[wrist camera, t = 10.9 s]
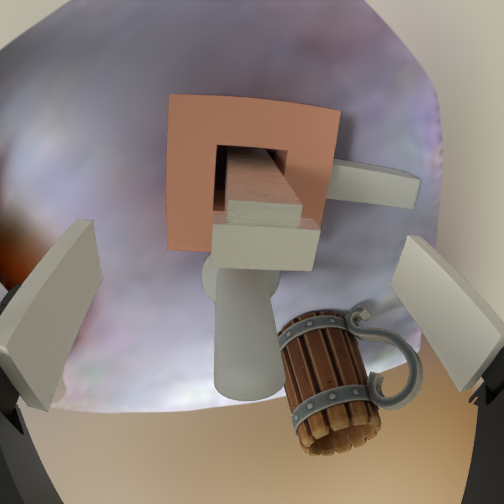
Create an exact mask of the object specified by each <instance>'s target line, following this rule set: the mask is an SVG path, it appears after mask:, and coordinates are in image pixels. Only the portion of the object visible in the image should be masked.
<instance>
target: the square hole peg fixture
mask: <svg viewBox="0 0 504 504" xmlns="http://www.w3.org/2000/svg"><path fill="white" fill-rule="evenodd" d="M340 114H341V111H338V110H333V109H328V108H322V107H317V106H311V105H304V104H298V103H291V102H283V101H275V100H267V99H257V98H246V97H233V96H216V95H169V107H168V127H167V159H166V212H167V246H168V250H179V251H201V252H210V254H209V255H208V256H207V258H206V259H205V261H204V264H203V267H202V276H201V281H202V286H203V289H204V291H205V293H206V294H207V295H208V297H209V298H210V299H211V300H212V301H214V302H215V340H214V386H215V388H216V390H217V391H218V392H219V393H220V394H221V395H223V396H225V397H227V398H230V399H233V400H238V401H256V400H261V399H264V398H267V397H270V396H272V395H274V394H275V393H277V392H278V391H279V390H281V388H282V387H283V386H284V384H285V381H286V376H285V371H284V366H283V361H282V356H281V351H280V346H279V341H278V336H277V331H276V326H275V321H274V316H273V311H272V307H271V302H270V297H271V296H272V295H273V294H274V293H275V291H276V289H277V287H278V285H279V281H280V272H279V270H258V269H234V268H211V252H212V227H213V215H214V213H225V191H217V190H215V181H216V165H217V150H218V145H231V146H245V147H258V148H269V149H276V151H275V159H274V163H275V164H276V166H277V167H278V169H279V170H280V172H281V173H282V175H283V176H284V178H285V179H286V181H287V182H288V184H289V185H290V187H291V188H292V190H293V191H294V193H295V194H296V196H297V197H298V199H299V200H300V202H301V203H302V205H303V207H302V213H301V218H308V219H314V221H315V222H316V224H317V225H318V227H319V228H320V227H321V222H322V217H323V212H324V207H325V202H326V199H335V200H344V201H352V202H361V203H369V204H376V205H384V206H391V207H398V208H405V209H412V210H413V207H414V204H415V200H416V196H417V192H418V189H419V185H420V181H421V180H419V179H417V178H416V177H414V176H412V175H410V174H409V173H407V172H405V171H400V170H396V169H391V168H386V167H381V166H375V165H370V164H364V163H359V162H353V161H347V160H340V159H334V153H335V147H336V140H337V134H338V128H339V121H340Z"/></svg>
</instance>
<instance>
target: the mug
mask: <svg viewBox="0 0 504 504" xmlns="http://www.w3.org/2000/svg"><path fill="white" fill-rule="evenodd" d="M371 316H372V315H371V313H370V312H368V311H367V310H366V309H365V308H364V307H363V306H356V307H354V308H352V309H351V310H350V311H349V313H348V314H347V316H346V318H345V317H343V316H341V315H339V314H335V313H333V312H324V311H320V312H313V313H308V314H305V315H302V316H300V317H297V318H295V319H294V320H292V321H291V322H289V323H288V324H286V325H285V326H284V327H283V328H282V329H281V331H280V332H279V333H278V334H277V336H278V341H279V346H280V351H281V356H282V361H283V366H284V371H285V376H286V381H285V384H284V388H285V392H286V396H287V399H288V403H289V406H290V410H291V413H292V416H291V417H292V422H293V426H294V430H295V433H296V435H297V436H298V438H299V441H300V445H301V448H302V449H303V450H304V452H305V453H309V455H311V456H318V455H320V454H321V455H322V456H330V455H333V454H334V452H335V451H337V452H338V453H344V452H347V451H349V450H351V447H352V445H353V446H354V447H355V448H356V447H359V446H361V445H363V444H365V443H366V440H367V439H368V440H370V439H372V438H374V437H375V436H376V435H377V432H378V431H379V430H380V429H381V420H380V416H379V413H378V410H379V408H378V406H380V407H382V408H384V409H387V410H396V409H400V408H402V407H404V406H406V405H407V404H409V403H410V402H411V401H413V399H414V398H415V397H416V396H417V395H418V393H419V391H420V389H421V386H422V382H423V366H422V363H421V360H420V358H419V356H418V355H417V353H416V352H415V351H414V350H413V348H412V347H411V346H410V345H409V344H408V343H407V342H406V341H405V340H404V339H403V338H401V337H400V336H399V335H398V334H396V333H394V332H392V331H389V330H385V329H380V328H363V327H359V326H358V323H359V321H360V320H361V319H364V320H365V321H367V320H368V319H369V318H370V317H371ZM356 337H357V338H359V339H362V340H367V341H379V342H386V343H390V344H392V345H395V346H396V347H398V348H399V350H400V351H401V352H402V353H403V354H404V356H405V357H406V360H407V362H408V365H409V378H408V382H407V384H406V386H405V388H404V389H403V390H402V391H401V392H400V393H398V394H397V395H395V396H393V397H389V398H386V397H384V395H383V393H382V390H381V386H382V382H383V379H384V377H383V376H381V375H380V374H378V373H374V372H370V374H369V377H368V376H367V373H366V370H365V367H364V364H363V361H362V358H361V355H360V352H359V349H358V342H357V339H356Z"/></svg>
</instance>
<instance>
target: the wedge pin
mask: <svg viewBox="0 0 504 504" xmlns="http://www.w3.org/2000/svg"><path fill="white" fill-rule="evenodd" d="M302 207H303V205H302V203H301V202H300V200H299V199H298V197H297V196H296V194H295V193H294V191H293V190H292V188H291V187H290V185H289V184H288V182H287V181H286V179H285V178H284V176H283V175H282V173H281V172H280V170H279V169H278V167H277V166H276V164H275V163H274V161H273V160H272V159H271V157H270V156H269V154H268V153H267V151H266V150H265V149H261V148H249V147H235V146H228V149H227V162H226V175H225V213H214V215H213V227H212V252H211V268H234V269H258V270H286V271H312V268H313V264H314V260H315V255H316V251H317V246H318V242H319V237H320V232H321V230H320V228H319V227H318V225H317V224H316V222H315V221H314V219H308V218H301V213H302Z"/></svg>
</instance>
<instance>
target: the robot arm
mask: <svg viewBox="0 0 504 504" xmlns="http://www.w3.org/2000/svg"><path fill="white" fill-rule="evenodd" d="M102 280H103V278H102V273H101V268H100V262H99V257H98V251H97V245H96V238H95V231H94V224H93V220H76V221H75V222H74V223H73V224H72V225H71V226H70V227H69V228H68V229H67V230H66V232H65V233H64V234H63V235H62V236H61V237H60V238H59V240H58V241H57V242H56V243H55V244H54V245H53V246H52V248H51V249H50V250H49V251H48V252H47V254H46V255H45V256H44V257H43V258H42V260H41V261H40V262H39V263H38V265H37V266H36V267H35V268H34V270H33V271H32V272H31V274H30V275H29V276H28V277H27V279H26V280H25V281H24V283H23V284H18V285H17V286H15V287H14V288H13V289H11V290H10V291H9V292H8V293H7V294H6V296H5V297H4V298H3V300H2V301H1V303H0V504H64V503H63V502H62V500H61V498H60V497H59V495H58V493H57V491H56V489H55V488H54V486H53V484H52V482H51V480H50V478H49V476H48V474H47V472H46V470H45V468H44V466H43V464H42V462H41V460H40V458H39V456H38V453H37V451H36V449H35V446H34V444H33V442H32V440H31V437H30V434H29V432H28V429H27V427H26V424H25V422H24V419H23V416H22V413H21V410H20V409H19V407H18V405H17V404H16V403H17V400H18V398H19V395H20V396H21V398H22V399H23V400H24V402H25V403H26V404H27V406H29V407H33V408H36V409H39V410H43V411H46V412H48V411H49V408H50V405H51V402H52V398H53V396H54V393H55V390H56V387H57V384H58V381H59V379H60V376H61V373H62V371H63V368H64V365H65V363H66V360H67V358H68V355H69V353H70V350H71V348H72V345H73V343H74V340H75V338H76V336H77V333H78V331H79V329H80V326H81V324H82V322H83V320H84V317H85V315H86V313H87V311H88V309H89V307H90V304H91V302H92V300H93V298H94V296H95V294H96V292H97V290H98V288H99V286H100V284H101V282H102ZM390 287H391V288H392V290H393V291H394V293H395V294H396V295H397V297H398V298H399V299H400V301H401V302H402V304H403V305H404V307H405V308H406V309H407V311H408V312H409V314H410V315H411V317H412V318H413V319H414V321H415V322H416V324H417V325H418V327H419V328H420V330H421V331H422V333H423V334H424V336H425V337H426V339H427V340H428V342H429V343H430V345H431V346H432V348H433V349H434V351H435V353H436V354H437V356H438V357H439V359H440V361H441V362H442V364H443V365H444V367H445V369H446V370H447V372H448V374H449V375H450V377H451V379H452V380H453V382H454V384H455V385H456V387H457V389H458V390H459V392H462V391H464V390H467V389H470V388H472V387H473V386H474V385H475V383H476V382H477V381H478V380H479V378H480V377H481V376H482V378H483V380H484V382H483V383H482V385H481V386H480V387H479V388H478V389H477V390H476V391H475V393H474V394H473V395H472V396H471V397H470V399H469V403H471V402H472V400H474V398H475V397H478V399H477V400H476V401H475V402H474V404H475V405H477V406H478V415H477V424H476V433H475V440H474V447H473V453H472V459H471V464H470V469H469V474H468V478H467V483H466V487H465V491H464V495H463V499H462V502H461V504H504V322H503V320H502V319H501V318H500V317H499V316H498V315H497V313H496V312H495V311H494V310H493V309H492V308H491V307H490V305H489V304H488V303H487V302H486V301H485V300H484V299H483V298H482V297H481V296H480V294H479V293H478V292H477V291H476V290H475V289H474V288H473V287H472V286H471V285H470V284H469V283H468V282H467V281H466V280H465V279H464V278H463V277H462V276H461V275H460V274H459V273H458V272H457V270H456V269H455V268H453V267H452V266H451V265H450V264H449V263H448V262H447V261H446V260H445V259H444V258H443V257H442V256H441V255H440V254H439V253H438V252H437V251H436V250H435V249H434V248H433V247H432V246H431V245H429V244H428V243H427V242H426V241H425V240H424V239H423V238H422V237H421V236H415V235H407V239H406V242H405V245H404V247H403V250H402V253H401V256H400V259H399V262H398V264H397V267H396V270H395V273H394V275H393V278H392V280H391V283H390Z"/></svg>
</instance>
